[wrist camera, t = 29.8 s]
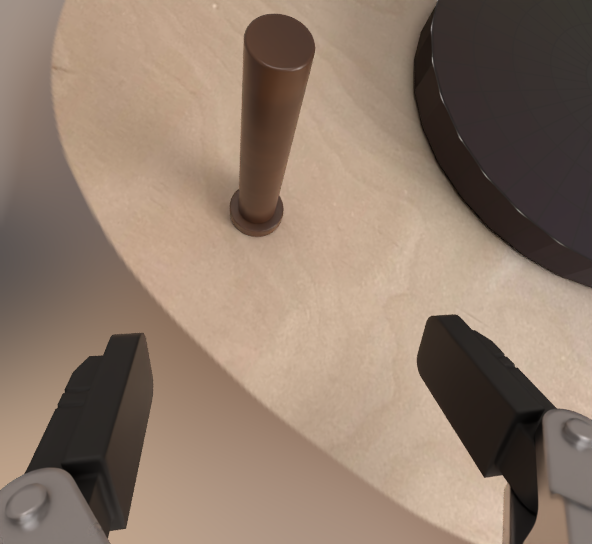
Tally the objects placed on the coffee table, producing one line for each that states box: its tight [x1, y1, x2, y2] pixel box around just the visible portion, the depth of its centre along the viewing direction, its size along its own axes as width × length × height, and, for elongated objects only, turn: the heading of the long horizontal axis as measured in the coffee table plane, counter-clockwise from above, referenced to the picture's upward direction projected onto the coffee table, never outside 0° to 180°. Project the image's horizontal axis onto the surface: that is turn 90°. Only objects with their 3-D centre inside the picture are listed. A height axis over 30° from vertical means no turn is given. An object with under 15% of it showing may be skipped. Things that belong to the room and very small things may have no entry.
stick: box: [230, 14, 315, 237], centre depth 17 cm, size 3×3×12 cm
